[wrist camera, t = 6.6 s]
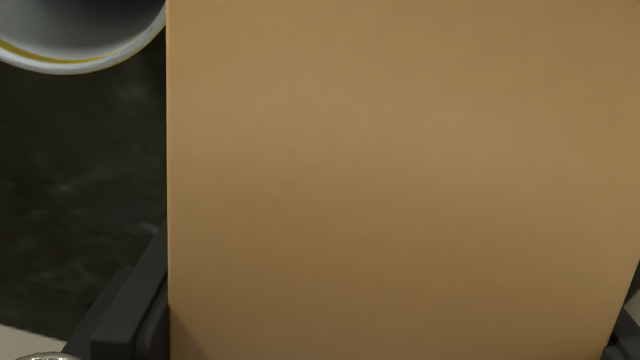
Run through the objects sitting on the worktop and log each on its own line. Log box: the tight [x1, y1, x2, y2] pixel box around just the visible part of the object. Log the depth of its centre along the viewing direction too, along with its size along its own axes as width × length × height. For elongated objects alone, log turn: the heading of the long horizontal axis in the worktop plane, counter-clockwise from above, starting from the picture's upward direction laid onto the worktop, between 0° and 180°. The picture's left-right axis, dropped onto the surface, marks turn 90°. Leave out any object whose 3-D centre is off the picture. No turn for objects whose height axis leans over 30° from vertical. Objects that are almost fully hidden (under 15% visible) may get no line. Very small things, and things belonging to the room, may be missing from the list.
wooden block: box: [166, 0, 640, 360], centre depth 10 cm, size 13×6×4 cm, turn 174°
